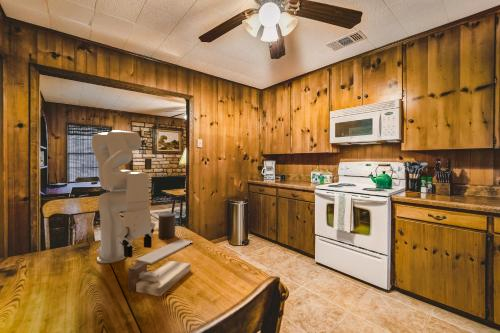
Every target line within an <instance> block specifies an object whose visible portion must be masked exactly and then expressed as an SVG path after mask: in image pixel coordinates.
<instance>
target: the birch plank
mask: <svg viewBox="0 0 500 333" xmlns="http://www.w3.org/2000/svg"><path fill="white" fill-rule="evenodd" d="M190 271H191V263H189V262H182V261H175V260H174V261H173V260H169V261H167V262H166V263H164V264H162V266H160V267H158V268H157V269H155V270H154V271H152V272H151V273H157V274H159V280H157V281H156V282H153V281H147V280H140V281H139V282H137V283H136V291H135V292H138V293H141V294H147V295H152V296H157V297H161V296H162V295H164V293H166V292H167V291H168V290H169V289H171V288H172V287H173V286H174V285H175V284H176V283H178V282H179V281H180V280H181V279H183V278H184V277H185V276H186V275H188V274H189V272H190Z"/></svg>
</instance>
